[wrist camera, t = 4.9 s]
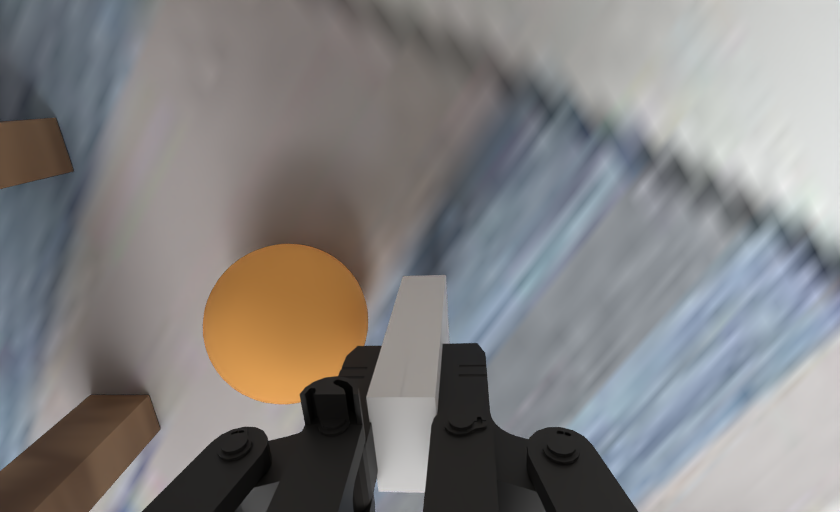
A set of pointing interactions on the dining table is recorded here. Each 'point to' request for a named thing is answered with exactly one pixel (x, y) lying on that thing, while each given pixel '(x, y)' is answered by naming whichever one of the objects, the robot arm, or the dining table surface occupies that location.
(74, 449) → the bridge
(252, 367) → the ball
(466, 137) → the dining table surface
